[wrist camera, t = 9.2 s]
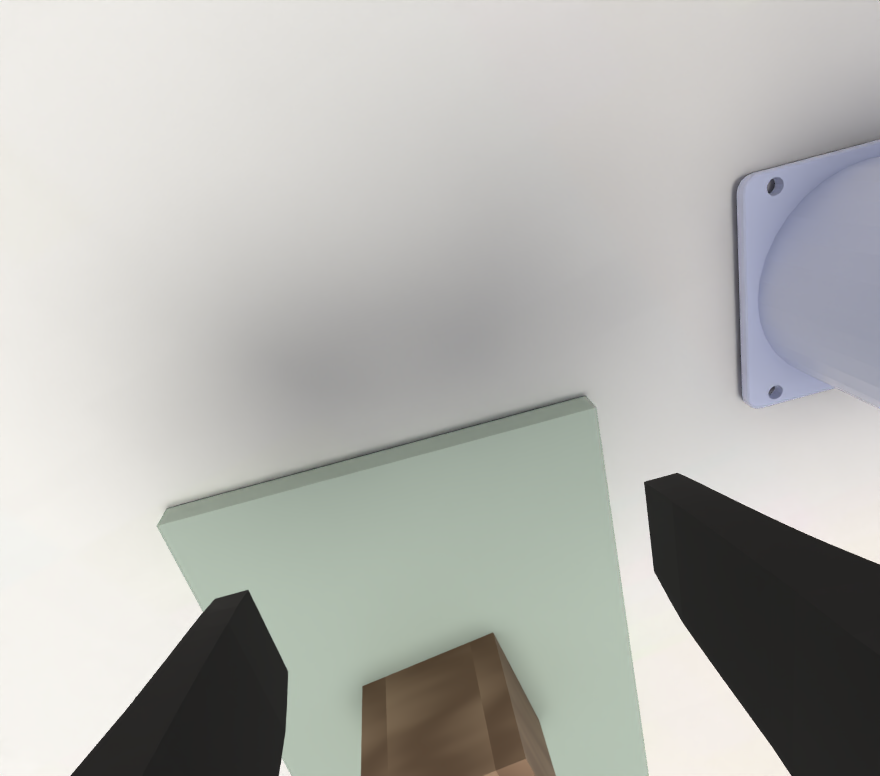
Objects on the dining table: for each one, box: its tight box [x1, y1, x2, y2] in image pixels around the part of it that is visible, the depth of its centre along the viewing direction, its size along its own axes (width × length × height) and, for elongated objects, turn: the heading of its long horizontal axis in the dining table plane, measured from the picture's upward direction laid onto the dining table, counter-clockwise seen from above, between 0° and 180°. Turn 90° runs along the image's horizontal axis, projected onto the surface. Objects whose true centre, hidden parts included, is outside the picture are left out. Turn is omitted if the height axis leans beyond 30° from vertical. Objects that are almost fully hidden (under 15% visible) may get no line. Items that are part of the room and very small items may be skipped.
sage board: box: [157, 396, 649, 776], centre depth 23 cm, size 15×20×1 cm
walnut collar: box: [361, 633, 556, 776], centre depth 21 cm, size 6×6×5 cm
